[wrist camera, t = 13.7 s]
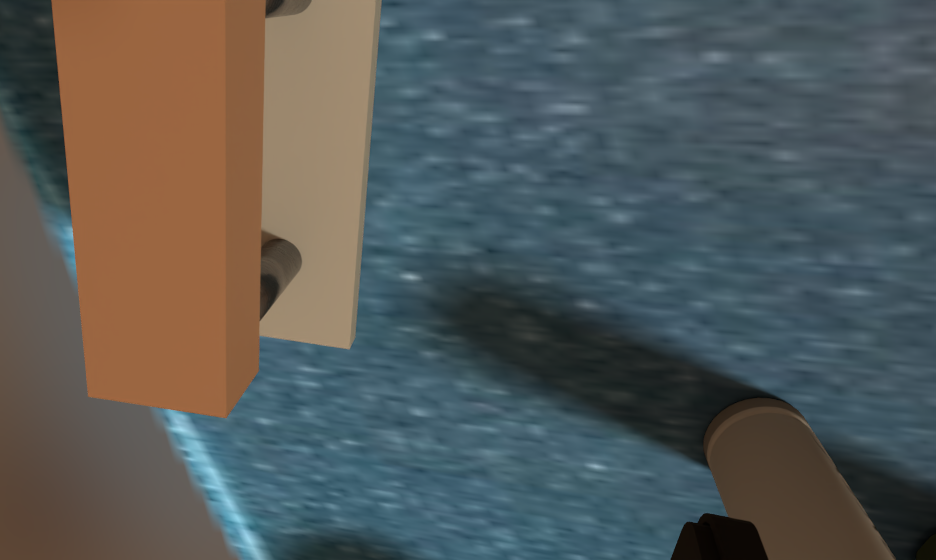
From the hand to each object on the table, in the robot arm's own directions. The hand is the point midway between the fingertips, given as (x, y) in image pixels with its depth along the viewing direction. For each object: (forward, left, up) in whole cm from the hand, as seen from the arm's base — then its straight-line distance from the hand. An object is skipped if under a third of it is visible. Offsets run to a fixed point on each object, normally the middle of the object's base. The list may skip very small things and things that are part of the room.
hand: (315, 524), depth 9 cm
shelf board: (+2, -11, -22) cm, 24 cm away
